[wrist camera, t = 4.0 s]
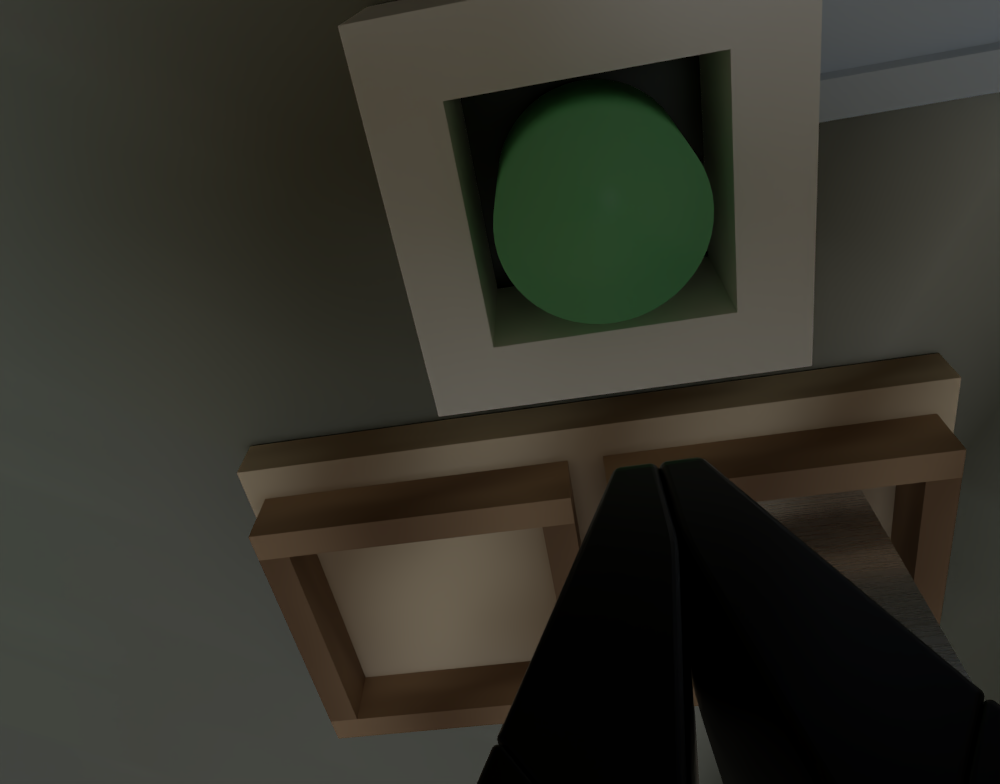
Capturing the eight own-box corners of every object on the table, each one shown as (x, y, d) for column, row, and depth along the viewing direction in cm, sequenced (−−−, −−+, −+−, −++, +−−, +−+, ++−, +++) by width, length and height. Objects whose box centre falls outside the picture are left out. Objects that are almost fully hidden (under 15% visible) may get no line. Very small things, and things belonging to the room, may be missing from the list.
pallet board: (938, 352, 20) (993, 412, 18) (905, 631, 25) (944, 705, 23) (250, 446, 22) (218, 510, 20) (349, 685, 27) (333, 758, 25)
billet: (856, 481, 20) (993, 719, 14) (848, 605, 23) (963, 855, 17) (678, 502, 21) (740, 740, 15) (687, 621, 23) (745, 869, 17)
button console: (773, -74, 15) (824, -70, 13) (773, 304, 19) (811, 365, 17) (367, 6, 16) (337, 26, 14) (449, 351, 20) (438, 416, 18)
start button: (679, 62, 16) (709, 92, 13) (690, 250, 18) (718, 307, 15) (481, 98, 16) (474, 133, 14) (514, 277, 18) (513, 337, 16)
